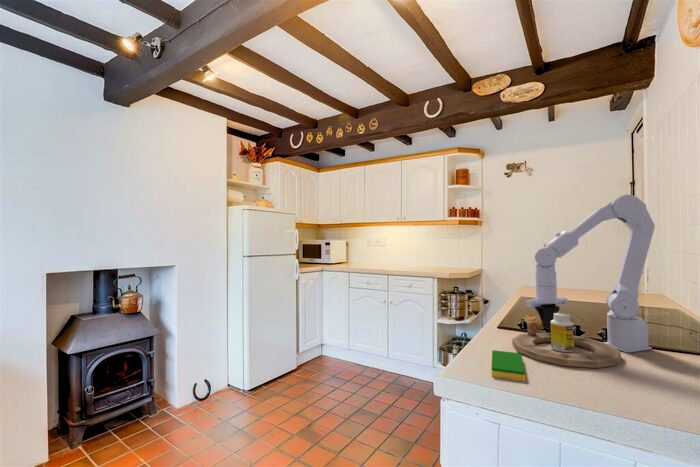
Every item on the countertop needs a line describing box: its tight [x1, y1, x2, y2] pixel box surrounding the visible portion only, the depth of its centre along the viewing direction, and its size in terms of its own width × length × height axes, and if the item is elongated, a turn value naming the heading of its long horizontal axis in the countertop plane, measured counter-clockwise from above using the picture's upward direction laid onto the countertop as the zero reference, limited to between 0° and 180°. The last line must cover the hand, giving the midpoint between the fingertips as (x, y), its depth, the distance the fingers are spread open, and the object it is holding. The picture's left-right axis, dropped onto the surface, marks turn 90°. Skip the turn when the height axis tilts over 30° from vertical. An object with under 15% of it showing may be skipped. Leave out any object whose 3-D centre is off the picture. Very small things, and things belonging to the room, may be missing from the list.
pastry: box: [522, 314, 544, 330], centre depth 121 cm, size 9×7×4 cm
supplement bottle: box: [550, 312, 575, 353], centre depth 96 cm, size 6×6×10 cm
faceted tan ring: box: [511, 321, 622, 369], centre depth 95 cm, size 25×25×6 cm
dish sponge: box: [491, 350, 526, 382], centre depth 84 cm, size 7×14×2 cm, turn 156°
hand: (547, 328), depth 107 cm, fingers closed
